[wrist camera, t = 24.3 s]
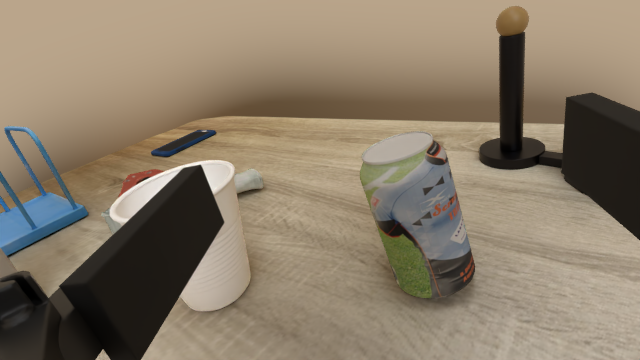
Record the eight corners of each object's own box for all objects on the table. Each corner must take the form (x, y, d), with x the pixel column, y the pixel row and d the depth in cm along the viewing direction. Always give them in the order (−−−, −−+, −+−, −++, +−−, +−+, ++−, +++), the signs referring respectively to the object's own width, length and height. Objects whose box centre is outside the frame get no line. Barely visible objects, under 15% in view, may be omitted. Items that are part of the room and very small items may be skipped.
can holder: (739, 212, 28) (821, -36, 20) (464, 193, 38) (455, 27, 31) (694, 145, 37) (740, -41, 30) (484, 145, 48) (481, 9, 41)
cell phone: (217, 132, 86) (216, 129, 85) (167, 157, 77) (165, 154, 76) (200, 132, 90) (199, 129, 90) (150, 155, 81) (149, 152, 81)
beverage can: (477, 314, 25) (470, 156, 20) (373, 304, 27) (343, 164, 22) (474, 255, 30) (467, 118, 25) (386, 252, 33) (365, 129, 28)
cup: (155, 293, 35) (101, 196, 30) (244, 242, 39) (210, 152, 35) (184, 355, 27) (118, 238, 22) (291, 283, 32) (254, 173, 27)
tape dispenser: (275, 193, 52) (181, 181, 62) (268, 160, 50) (171, 153, 60) (184, 267, 39) (81, 237, 48) (169, 225, 37) (64, 203, 46)
